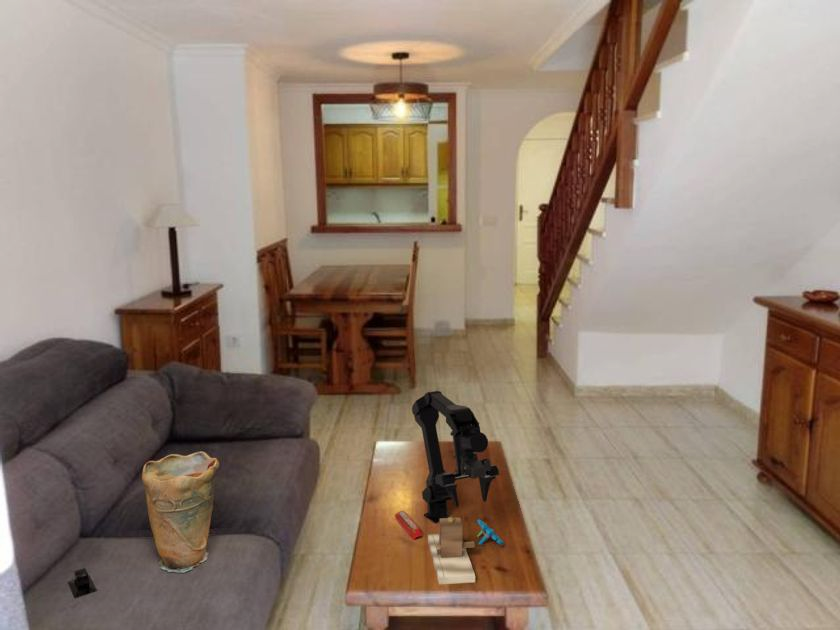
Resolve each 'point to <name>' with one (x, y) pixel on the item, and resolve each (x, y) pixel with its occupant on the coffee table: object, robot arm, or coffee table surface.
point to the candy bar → (408, 524)
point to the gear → (487, 533)
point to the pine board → (451, 565)
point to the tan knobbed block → (451, 538)
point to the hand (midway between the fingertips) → (471, 504)
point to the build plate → (81, 584)
